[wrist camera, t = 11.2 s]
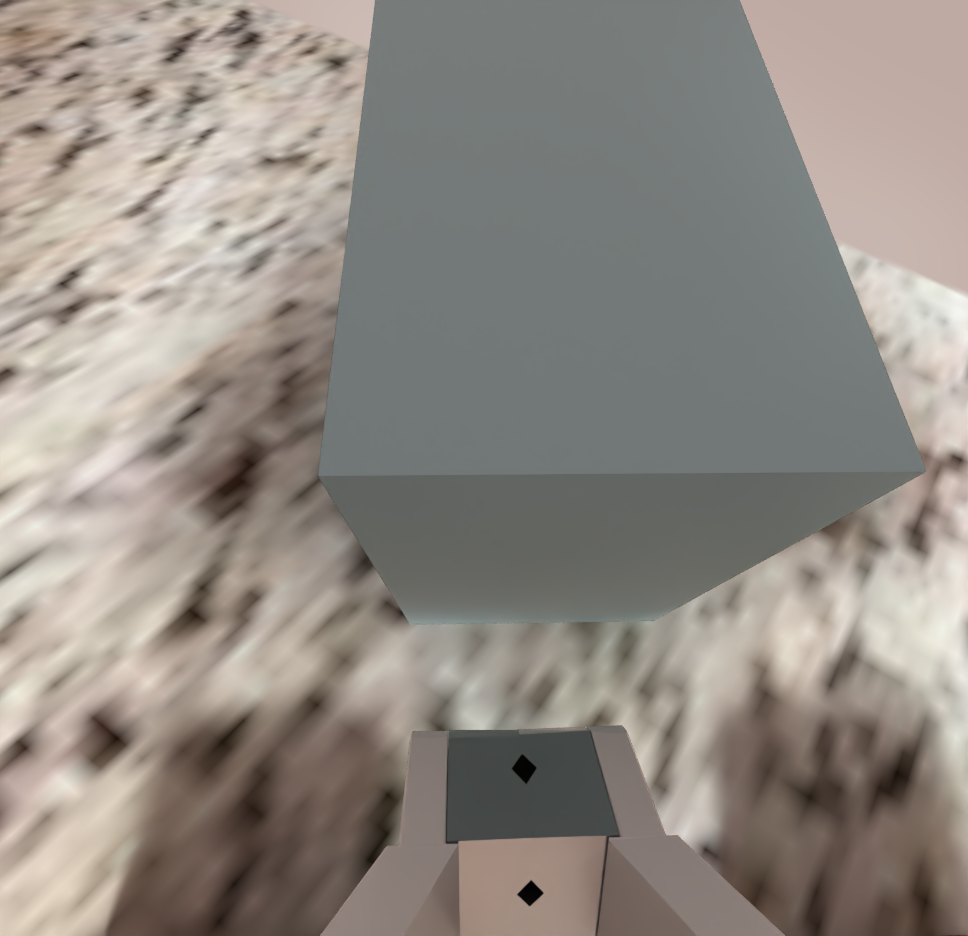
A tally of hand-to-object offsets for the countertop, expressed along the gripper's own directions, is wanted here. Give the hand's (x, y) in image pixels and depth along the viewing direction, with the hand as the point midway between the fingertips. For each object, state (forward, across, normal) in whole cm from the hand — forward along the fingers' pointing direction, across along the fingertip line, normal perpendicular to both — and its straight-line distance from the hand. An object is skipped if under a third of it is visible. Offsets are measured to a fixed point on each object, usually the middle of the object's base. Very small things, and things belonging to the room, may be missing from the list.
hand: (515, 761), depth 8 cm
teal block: (+10, -1, -3) cm, 10 cm away
